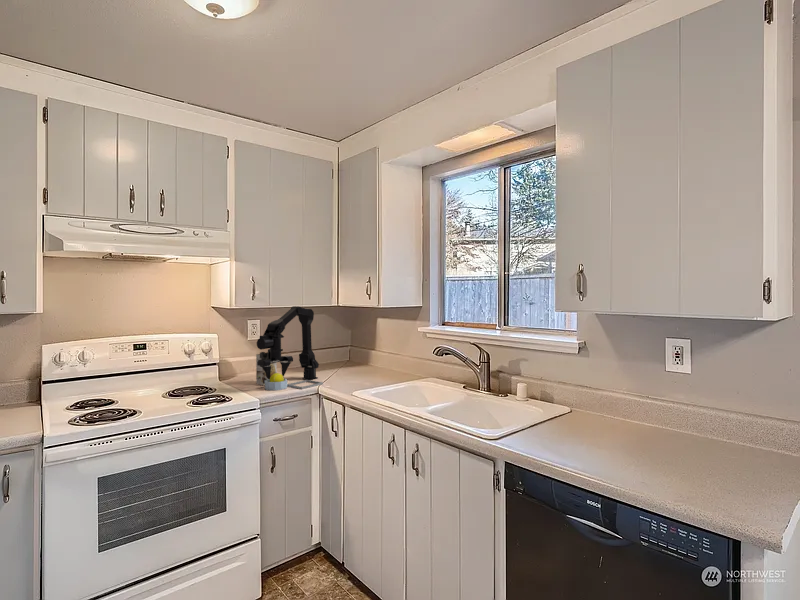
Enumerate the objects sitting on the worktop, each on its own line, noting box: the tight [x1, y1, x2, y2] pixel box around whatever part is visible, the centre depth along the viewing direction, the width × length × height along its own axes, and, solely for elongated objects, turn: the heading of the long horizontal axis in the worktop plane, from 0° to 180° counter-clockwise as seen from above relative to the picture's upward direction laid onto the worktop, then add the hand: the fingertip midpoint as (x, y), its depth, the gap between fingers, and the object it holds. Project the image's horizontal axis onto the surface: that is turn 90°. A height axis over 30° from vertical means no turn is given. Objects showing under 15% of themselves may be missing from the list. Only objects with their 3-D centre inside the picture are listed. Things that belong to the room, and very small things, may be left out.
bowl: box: [264, 378, 288, 391], centre depth 238 cm, size 11×11×4 cm
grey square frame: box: [287, 379, 324, 390], centre depth 244 cm, size 15×13×1 cm
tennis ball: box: [270, 372, 285, 382], centre depth 238 cm, size 7×7×7 cm
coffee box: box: [255, 353, 278, 386], centre depth 250 cm, size 9×6×16 cm
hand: (275, 377), depth 238 cm, fingers open, 9 cm apart
